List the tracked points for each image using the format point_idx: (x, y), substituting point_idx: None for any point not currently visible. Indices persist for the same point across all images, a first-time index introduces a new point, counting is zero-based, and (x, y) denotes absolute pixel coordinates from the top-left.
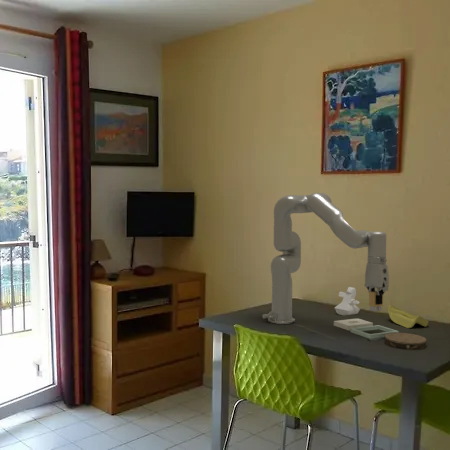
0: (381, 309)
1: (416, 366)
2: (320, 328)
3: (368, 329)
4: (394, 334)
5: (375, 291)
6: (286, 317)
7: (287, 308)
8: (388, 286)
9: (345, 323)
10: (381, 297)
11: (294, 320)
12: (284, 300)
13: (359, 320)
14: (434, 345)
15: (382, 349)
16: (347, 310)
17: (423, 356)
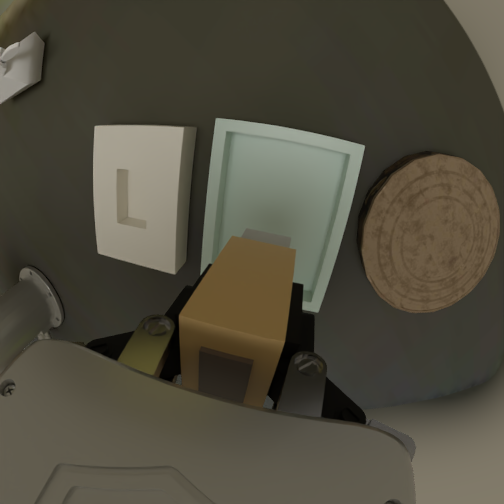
0: (289, 242)
1: (481, 369)
2: (110, 284)
3: (221, 194)
4: (388, 230)
5: (224, 395)
6: (48, 314)
7: (33, 326)
8: (404, 446)
9: (139, 250)
10: (311, 351)
11: (48, 287)
12: (21, 345)
13: (122, 149)
14: (495, 161)
15: (395, 340)
16: (23, 86)
17: (493, 305)
